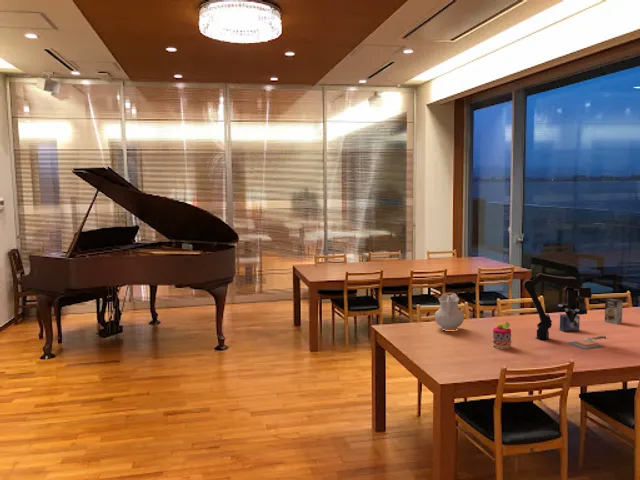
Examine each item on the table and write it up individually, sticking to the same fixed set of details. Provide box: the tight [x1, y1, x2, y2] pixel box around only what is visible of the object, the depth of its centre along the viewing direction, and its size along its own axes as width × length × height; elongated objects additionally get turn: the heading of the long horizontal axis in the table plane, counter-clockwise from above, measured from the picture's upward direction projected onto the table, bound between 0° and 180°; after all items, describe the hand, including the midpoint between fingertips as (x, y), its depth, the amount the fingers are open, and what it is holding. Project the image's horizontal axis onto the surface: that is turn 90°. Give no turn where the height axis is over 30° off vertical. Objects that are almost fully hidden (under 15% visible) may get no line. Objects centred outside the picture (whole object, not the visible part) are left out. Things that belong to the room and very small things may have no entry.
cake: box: [492, 321, 512, 350], centre depth 320 cm, size 10×11×15 cm
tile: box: [575, 339, 599, 348], centre depth 317 cm, size 9×2×8 cm
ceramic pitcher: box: [434, 292, 465, 330], centre depth 360 cm, size 22×20×25 cm
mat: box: [565, 340, 607, 351], centre depth 318 cm, size 16×16×1 cm
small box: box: [559, 313, 581, 333], centre depth 351 cm, size 11×6×10 cm, turn 92°
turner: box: [583, 335, 607, 341], centre depth 330 cm, size 15×5×1 cm, turn 108°
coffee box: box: [604, 298, 624, 325], centre depth 368 cm, size 9×6×16 cm
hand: (571, 322), depth 327 cm, fingers closed
